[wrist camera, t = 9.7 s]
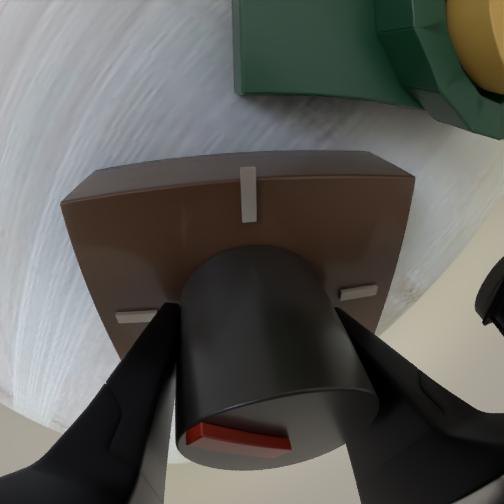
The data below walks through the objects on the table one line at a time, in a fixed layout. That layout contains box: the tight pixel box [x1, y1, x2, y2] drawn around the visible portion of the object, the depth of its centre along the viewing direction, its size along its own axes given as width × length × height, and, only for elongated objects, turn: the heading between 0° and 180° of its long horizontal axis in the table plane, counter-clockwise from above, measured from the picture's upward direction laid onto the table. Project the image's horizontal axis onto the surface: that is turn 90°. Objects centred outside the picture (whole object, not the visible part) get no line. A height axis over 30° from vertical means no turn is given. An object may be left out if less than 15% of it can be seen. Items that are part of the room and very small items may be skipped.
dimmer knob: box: [175, 245, 380, 471], centre depth 7 cm, size 4×4×5 cm
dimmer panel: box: [60, 151, 415, 360], centre depth 10 cm, size 9×10×3 cm
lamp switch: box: [445, 0, 504, 95], centre depth 4 cm, size 4×4×2 cm
